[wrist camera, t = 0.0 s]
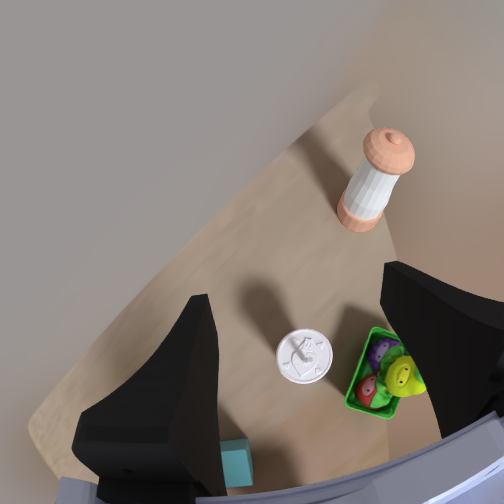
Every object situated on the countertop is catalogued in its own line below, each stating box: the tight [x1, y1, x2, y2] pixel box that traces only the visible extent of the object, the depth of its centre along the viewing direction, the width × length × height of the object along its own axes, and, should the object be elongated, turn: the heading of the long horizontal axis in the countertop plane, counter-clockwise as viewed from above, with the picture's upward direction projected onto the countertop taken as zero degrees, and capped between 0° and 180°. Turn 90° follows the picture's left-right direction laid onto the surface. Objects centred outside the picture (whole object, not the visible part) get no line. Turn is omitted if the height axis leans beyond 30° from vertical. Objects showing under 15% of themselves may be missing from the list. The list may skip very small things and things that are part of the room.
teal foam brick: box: [220, 438, 254, 488], centre depth 33 cm, size 5×5×7 cm
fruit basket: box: [344, 327, 426, 419], centre depth 35 cm, size 11×9×11 cm
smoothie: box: [276, 328, 333, 384], centre depth 35 cm, size 6×6×14 cm
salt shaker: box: [337, 127, 415, 232], centre depth 41 cm, size 7×7×19 cm
